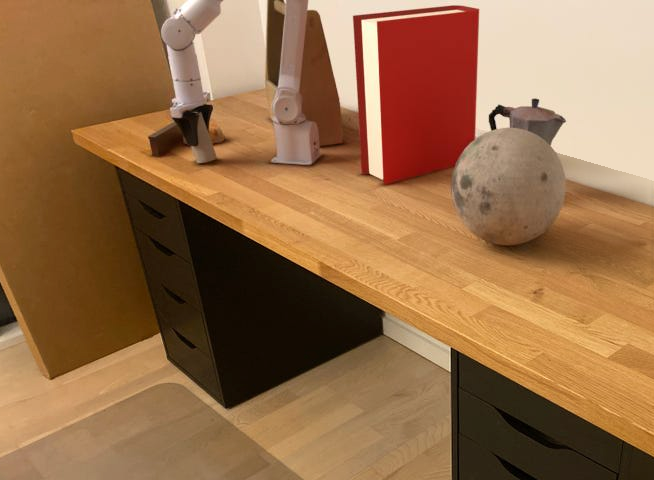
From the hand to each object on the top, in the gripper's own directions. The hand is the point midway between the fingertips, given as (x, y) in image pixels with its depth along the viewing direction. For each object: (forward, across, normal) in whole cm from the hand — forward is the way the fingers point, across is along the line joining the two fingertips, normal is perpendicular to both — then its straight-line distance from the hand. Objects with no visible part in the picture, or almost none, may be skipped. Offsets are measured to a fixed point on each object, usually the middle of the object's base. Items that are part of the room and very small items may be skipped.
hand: (198, 142), depth 161 cm
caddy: (+5, -28, +15) cm, 32 cm away
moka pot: (+5, +7, +74) cm, 74 cm away
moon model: (+5, +29, +72) cm, 78 cm away
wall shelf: (+4, -10, -12) cm, 16 cm away
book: (+5, -7, +50) cm, 50 cm away
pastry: (+5, -14, -6) cm, 16 cm away
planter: (+4, 0, +1) cm, 4 cm away
